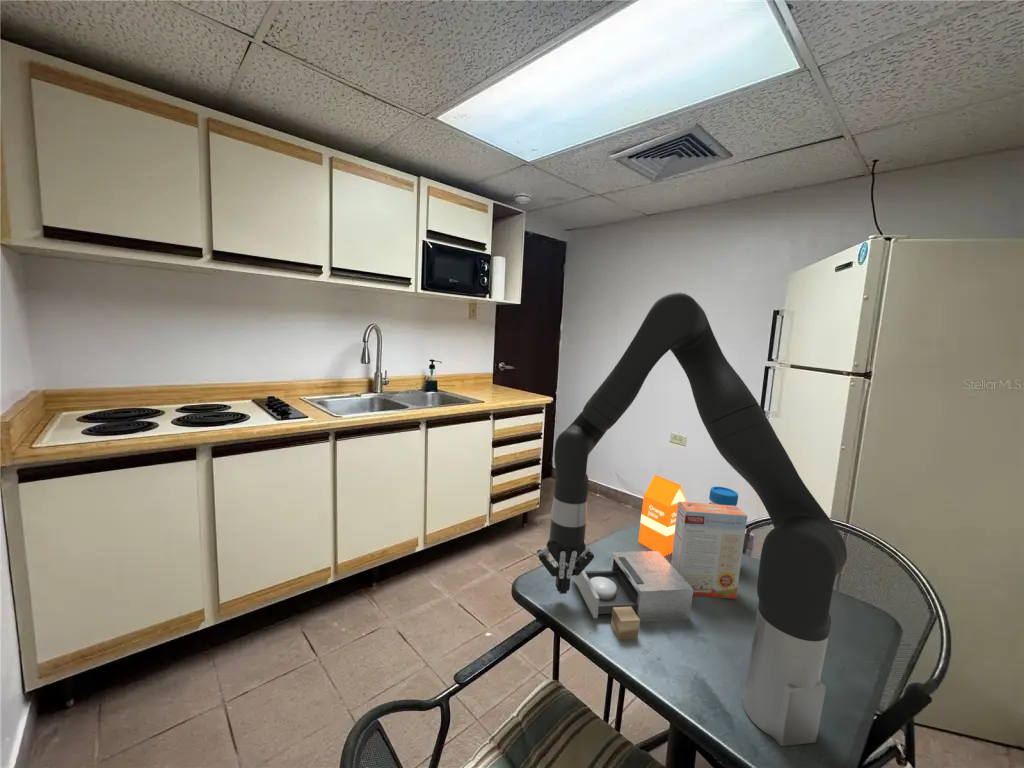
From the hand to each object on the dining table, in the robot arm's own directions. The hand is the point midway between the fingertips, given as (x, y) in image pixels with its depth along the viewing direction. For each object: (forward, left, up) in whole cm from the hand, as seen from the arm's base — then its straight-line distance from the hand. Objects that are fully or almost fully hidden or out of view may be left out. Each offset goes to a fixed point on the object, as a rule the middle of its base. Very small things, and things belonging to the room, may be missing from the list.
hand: (562, 591), depth 91 cm
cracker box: (+2, -35, -3) cm, 36 cm away
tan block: (-10, -10, -2) cm, 15 cm away
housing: (0, -20, -2) cm, 21 cm away
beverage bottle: (+14, -47, -3) cm, 49 cm away
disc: (0, -9, 0) cm, 9 cm away
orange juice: (+22, -35, -3) cm, 42 cm away
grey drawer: (0, -11, -1) cm, 11 cm away
